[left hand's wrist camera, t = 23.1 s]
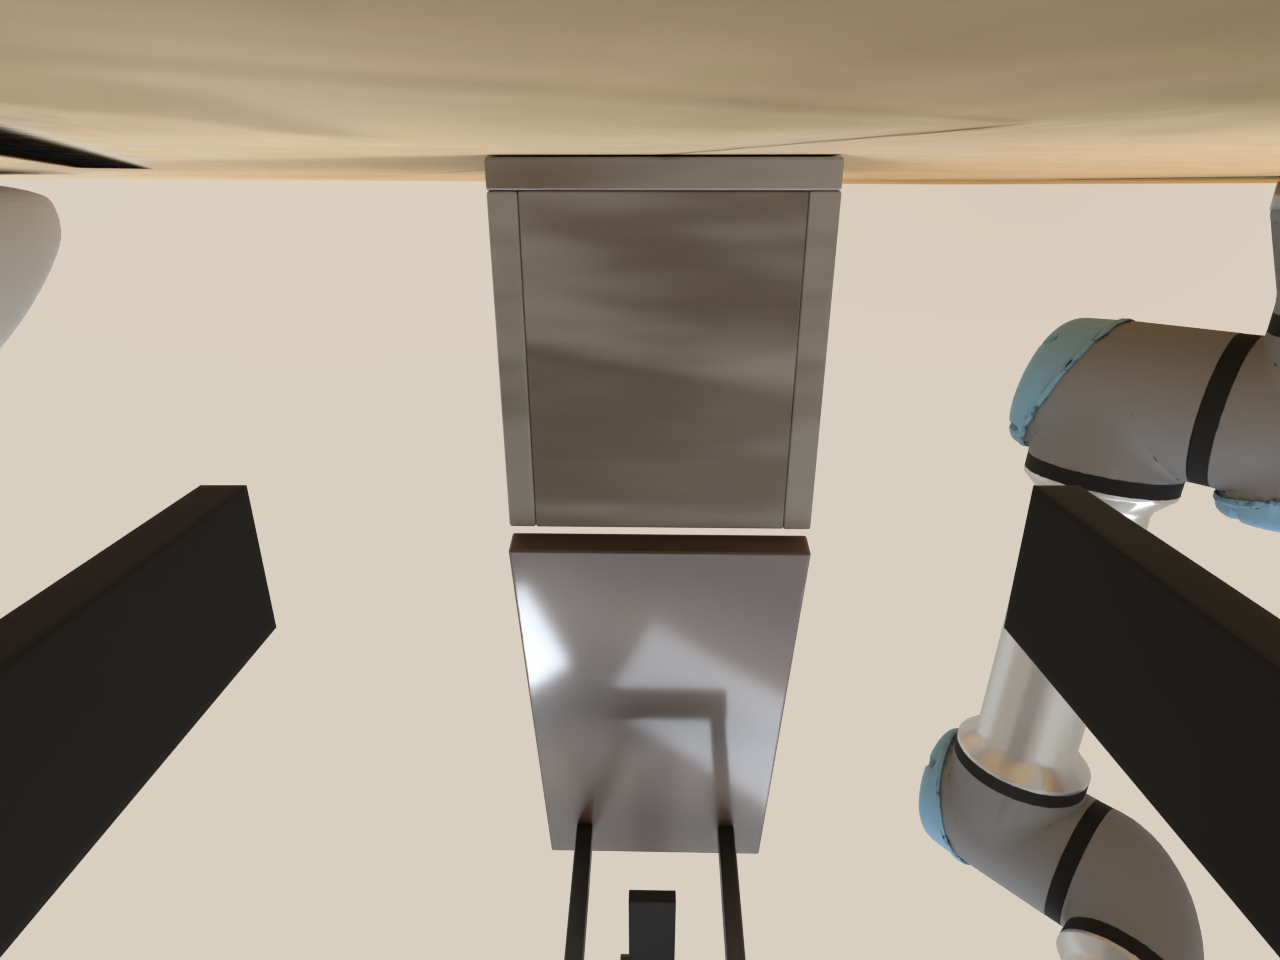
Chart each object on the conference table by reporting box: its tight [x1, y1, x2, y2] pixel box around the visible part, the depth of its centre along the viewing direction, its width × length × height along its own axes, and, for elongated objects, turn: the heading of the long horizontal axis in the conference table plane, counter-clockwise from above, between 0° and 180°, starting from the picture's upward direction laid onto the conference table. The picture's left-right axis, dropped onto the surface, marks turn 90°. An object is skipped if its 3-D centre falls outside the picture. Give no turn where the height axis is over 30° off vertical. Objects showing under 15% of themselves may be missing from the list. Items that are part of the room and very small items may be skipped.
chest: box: [484, 157, 844, 529], centre depth 29 cm, size 17×10×11 cm, turn 1°
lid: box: [509, 533, 810, 960], centre depth 26 cm, size 18×10×8 cm
